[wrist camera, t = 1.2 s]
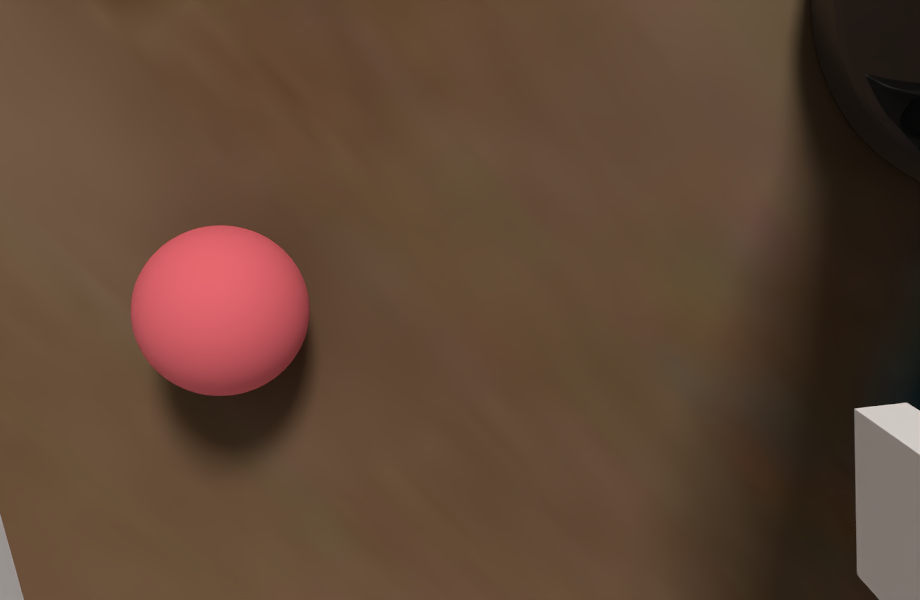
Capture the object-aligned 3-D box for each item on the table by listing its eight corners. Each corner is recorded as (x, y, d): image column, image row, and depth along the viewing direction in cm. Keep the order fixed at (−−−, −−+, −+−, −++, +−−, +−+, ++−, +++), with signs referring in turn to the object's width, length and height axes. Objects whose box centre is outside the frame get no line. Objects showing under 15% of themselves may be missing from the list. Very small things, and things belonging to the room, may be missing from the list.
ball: (323, 216, 29) (276, 236, 23) (330, 367, 30) (287, 422, 24) (169, 217, 29) (85, 236, 23) (183, 366, 30) (106, 420, 24)
